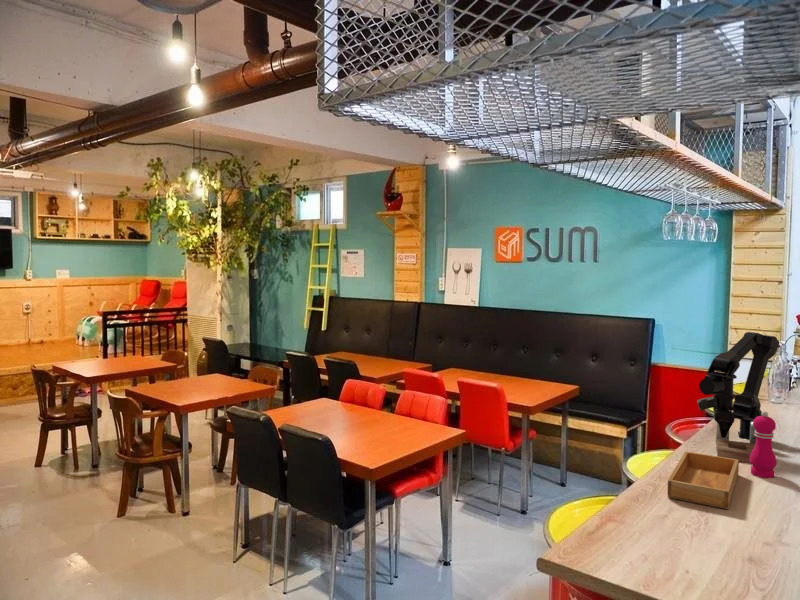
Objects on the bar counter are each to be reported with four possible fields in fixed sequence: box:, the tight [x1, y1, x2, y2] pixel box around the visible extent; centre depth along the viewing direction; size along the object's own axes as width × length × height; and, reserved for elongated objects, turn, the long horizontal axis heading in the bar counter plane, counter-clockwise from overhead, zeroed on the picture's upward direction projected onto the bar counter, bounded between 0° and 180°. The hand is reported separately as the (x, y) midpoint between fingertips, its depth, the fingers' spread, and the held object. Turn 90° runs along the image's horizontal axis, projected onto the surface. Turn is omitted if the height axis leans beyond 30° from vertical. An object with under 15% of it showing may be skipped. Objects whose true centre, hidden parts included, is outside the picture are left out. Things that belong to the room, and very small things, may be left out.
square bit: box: [715, 421, 730, 445], centre depth 212 cm, size 4×4×9 cm
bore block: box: [716, 439, 755, 463], centre depth 200 cm, size 12×12×3 cm
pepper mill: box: [749, 410, 778, 479], centre depth 182 cm, size 7×7×20 cm
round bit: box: [749, 421, 756, 444], centre depth 208 cm, size 4×4×9 cm
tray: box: [667, 450, 740, 510], centre depth 174 cm, size 31×15×6 cm, turn 146°
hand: (722, 434), depth 213 cm, fingers open, 9 cm apart
